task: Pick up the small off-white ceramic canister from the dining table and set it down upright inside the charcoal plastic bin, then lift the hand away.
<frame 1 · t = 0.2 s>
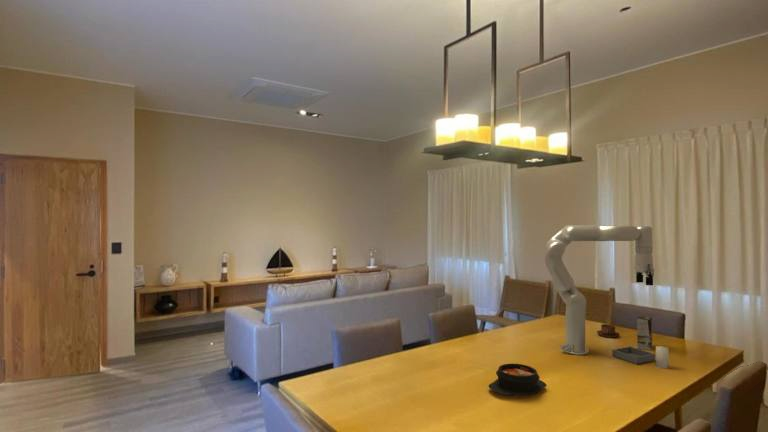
hand: (644, 283, 213), 37 cm above the table, tool pointing down, fingers open, 9 cm apart
canister: (662, 366, 197), on the table
bin: (633, 358, 208), on the table
coffee box: (644, 347, 227), on the table
cup and saucer: (608, 336, 249), on the table
casserole: (517, 390, 171), on the table
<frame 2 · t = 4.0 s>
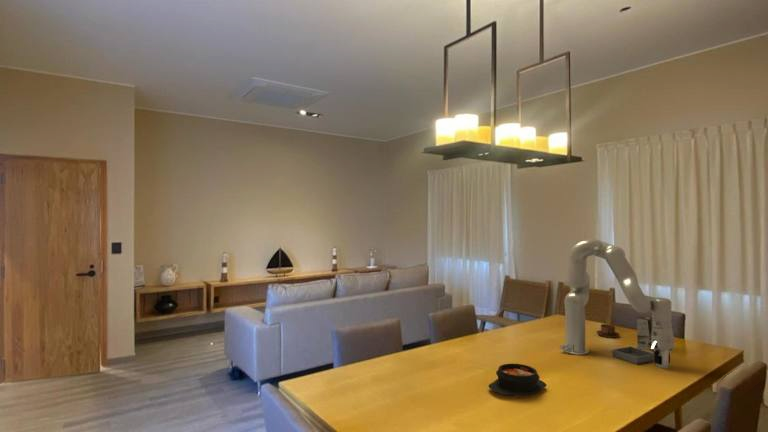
hand: (662, 362, 197), 2 cm above the table, tool pointing down, fingers closed on canister, 5 cm apart
canister: (662, 366, 197), on the table, touching gripper
everything else where it was.
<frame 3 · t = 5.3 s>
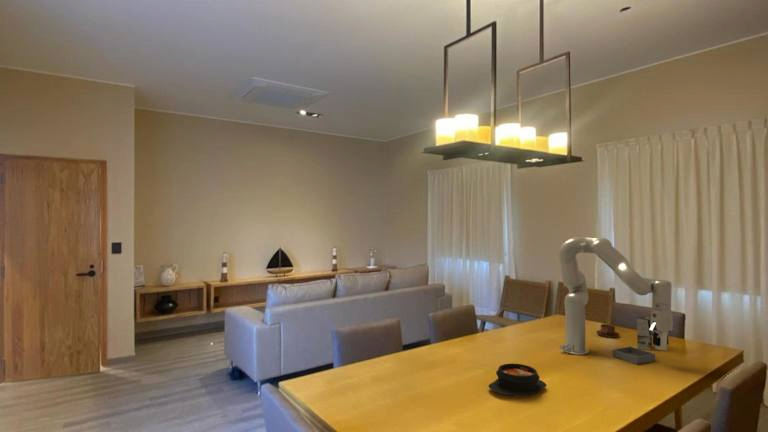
hand: (660, 344, 198), 10 cm above the table, tool pointing down, fingers closed on canister, 5 cm apart
canister: (660, 348, 198), point 8 cm above the table, touching gripper
everything else where it was.
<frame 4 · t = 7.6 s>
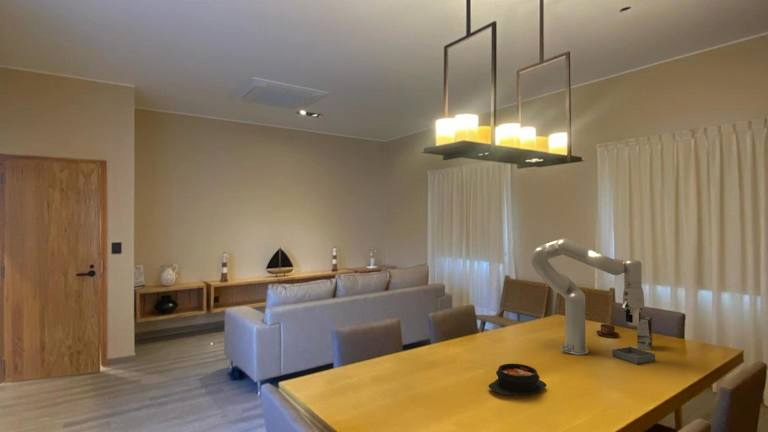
hand: (633, 321, 208), 19 cm above the table, tool pointing down, fingers closed on canister, 5 cm apart
canister: (633, 324, 208), point 17 cm above the table, touching gripper
everything else where it was.
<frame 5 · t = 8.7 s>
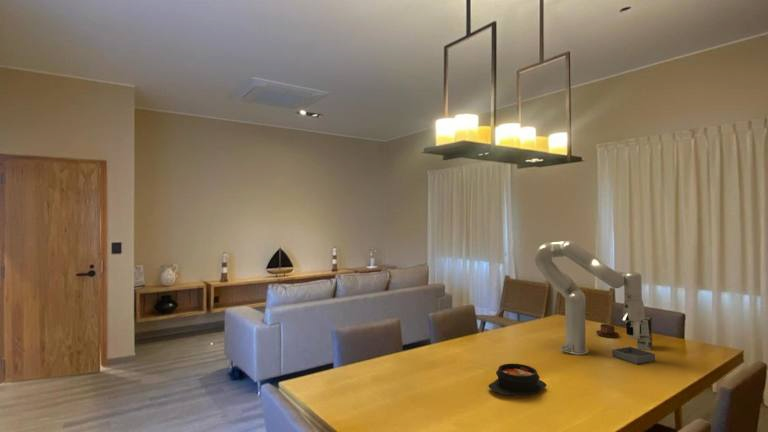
hand: (633, 333, 208), 13 cm above the table, tool pointing down, fingers closed on canister, 5 cm apart
canister: (633, 337, 208), point 11 cm above the table, touching gripper
everything else where it was.
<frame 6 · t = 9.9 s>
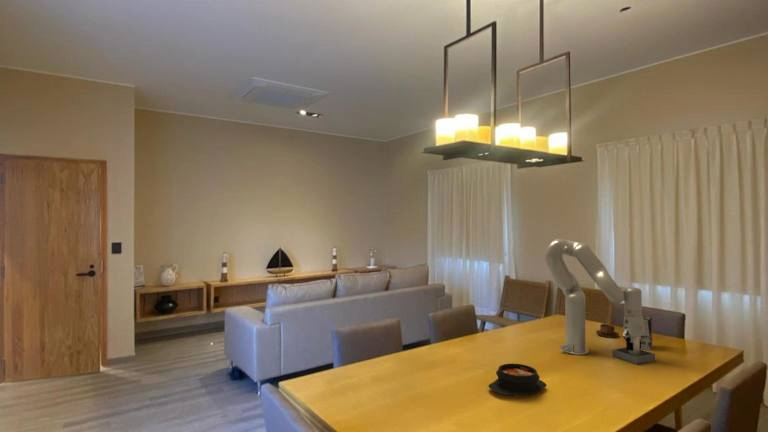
hand: (633, 348, 208), 5 cm above the table, tool pointing down, fingers closed on canister, 5 cm apart
canister: (633, 352, 208), point 3 cm above the table, touching gripper
everything else where it was.
when the fingers open (4 cm above the table, at t = 10.6 s): canister drops 1 cm, resting on bin.
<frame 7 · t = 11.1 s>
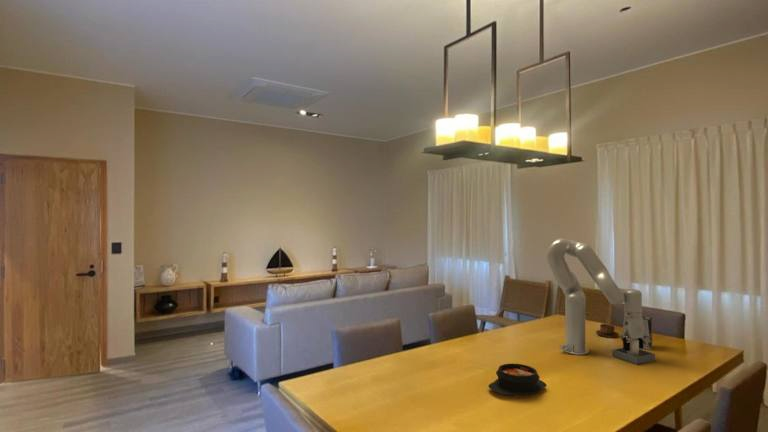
hand: (633, 348, 208), 5 cm above the table, tool pointing down, fingers open, 9 cm apart
canister: (632, 357, 208), point 1 cm above the table, touching bin
everything else where it was.
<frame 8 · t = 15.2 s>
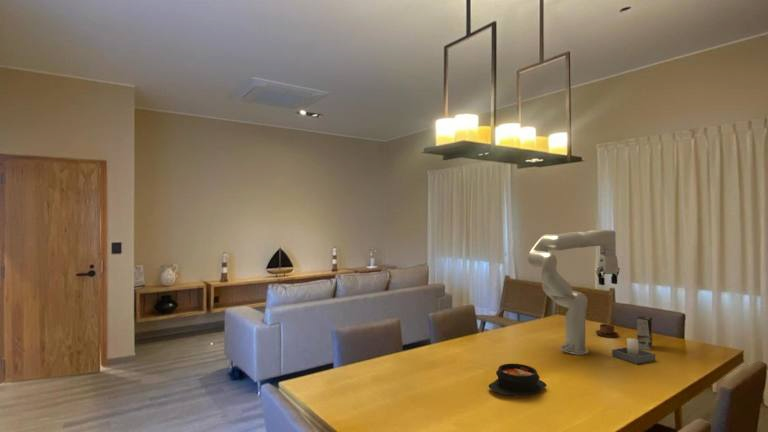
hand: (607, 284, 227), 34 cm above the table, tool pointing down, fingers open, 9 cm apart
nothing on the table moved.
at the end: canister 0.2 cm off-centre on the bin, point 0.7 cm above the bin's base; canister tilted 3°; the gripper is holding nothing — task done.
